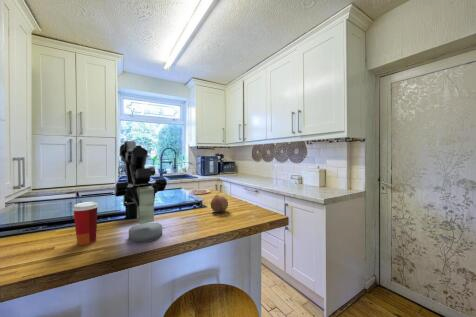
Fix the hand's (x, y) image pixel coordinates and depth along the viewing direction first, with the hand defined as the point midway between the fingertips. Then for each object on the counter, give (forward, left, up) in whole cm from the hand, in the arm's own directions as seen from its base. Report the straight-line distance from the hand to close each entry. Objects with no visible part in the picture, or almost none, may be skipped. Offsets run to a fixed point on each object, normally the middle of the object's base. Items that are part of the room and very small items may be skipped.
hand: (146, 204), depth 80 cm
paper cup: (-21, -1, -13) cm, 24 cm away
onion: (+30, +26, -13) cm, 42 cm away
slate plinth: (-1, +1, -13) cm, 13 cm away
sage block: (-1, +1, -7) cm, 7 cm away
